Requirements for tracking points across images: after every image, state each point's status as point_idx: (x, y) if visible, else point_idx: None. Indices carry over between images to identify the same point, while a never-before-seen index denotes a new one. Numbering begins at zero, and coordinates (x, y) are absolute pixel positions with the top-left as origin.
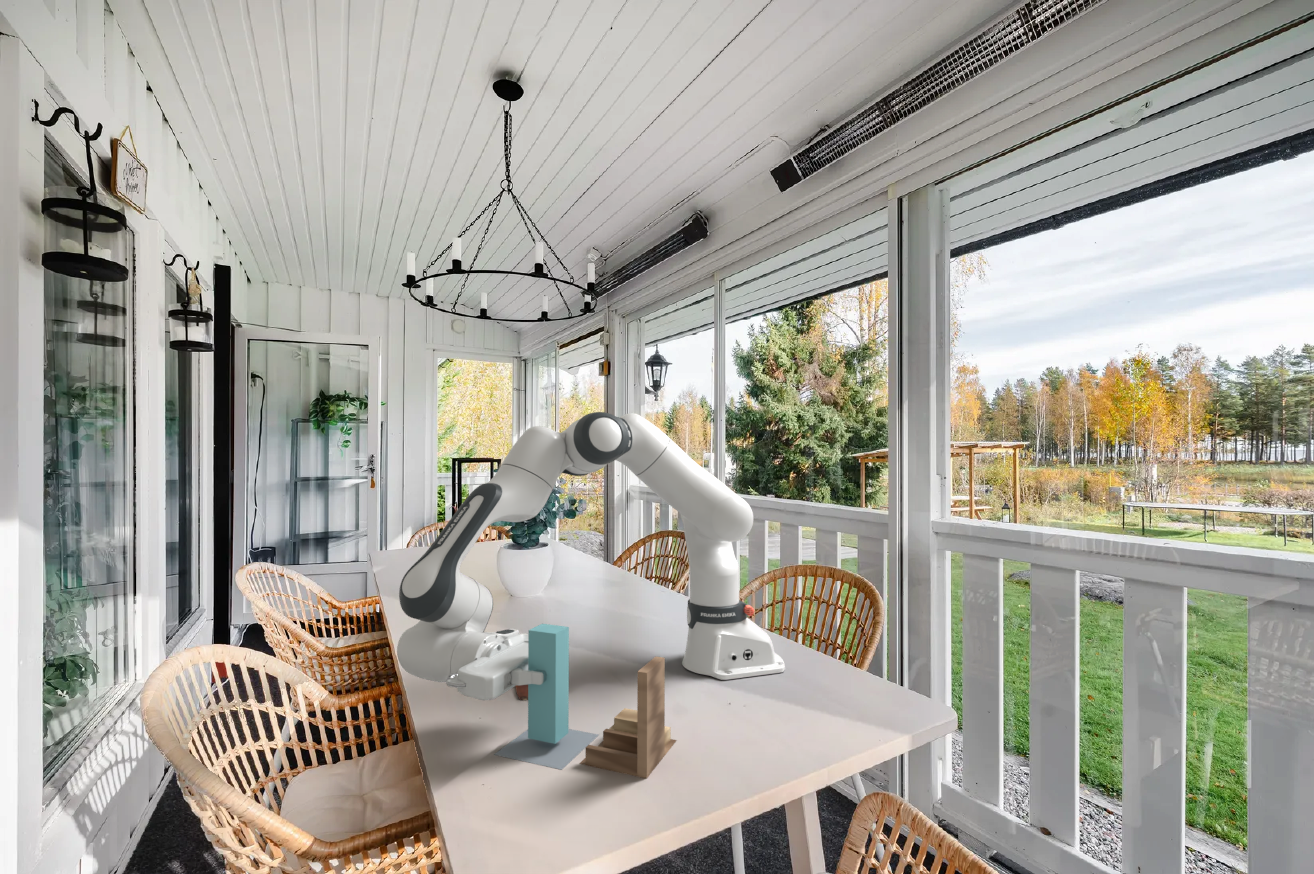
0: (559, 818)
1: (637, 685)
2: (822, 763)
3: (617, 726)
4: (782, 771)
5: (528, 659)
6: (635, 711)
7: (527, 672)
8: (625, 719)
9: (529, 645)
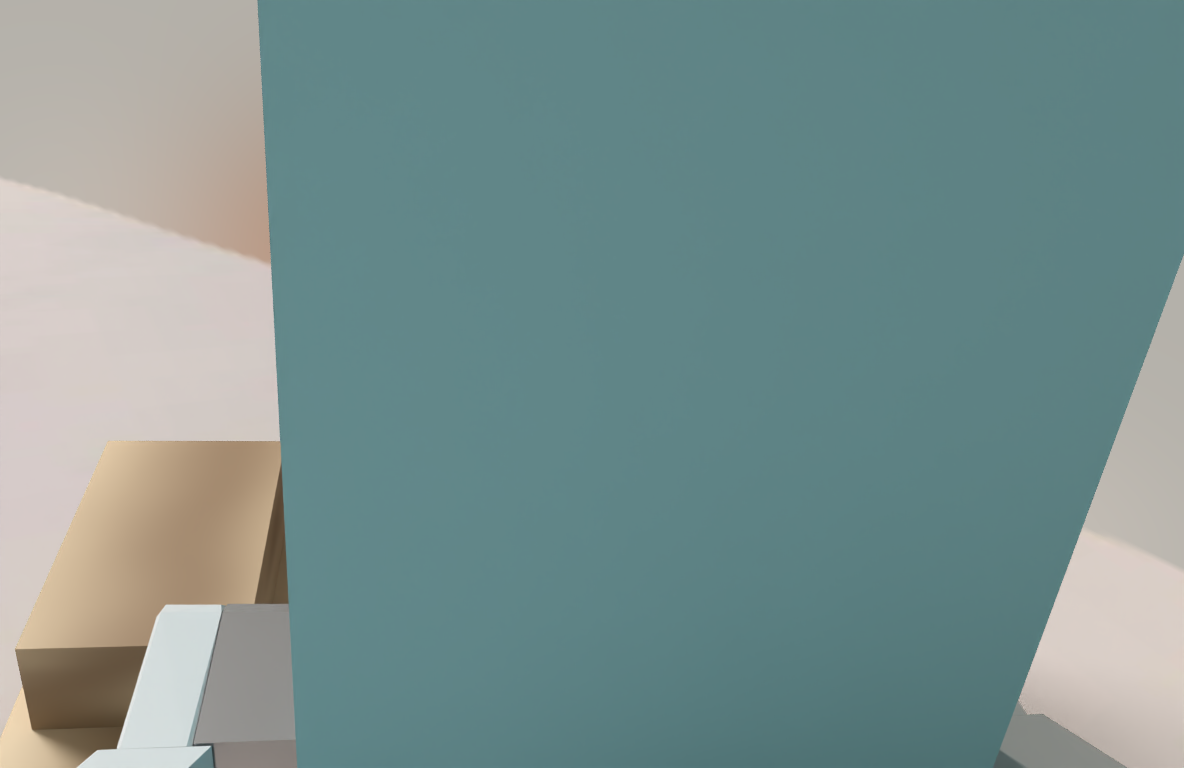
0: (1082, 736)
1: None
2: (157, 240)
3: None
4: (253, 292)
5: (992, 760)
6: (79, 570)
7: (1110, 765)
8: (253, 576)
9: (1088, 426)
